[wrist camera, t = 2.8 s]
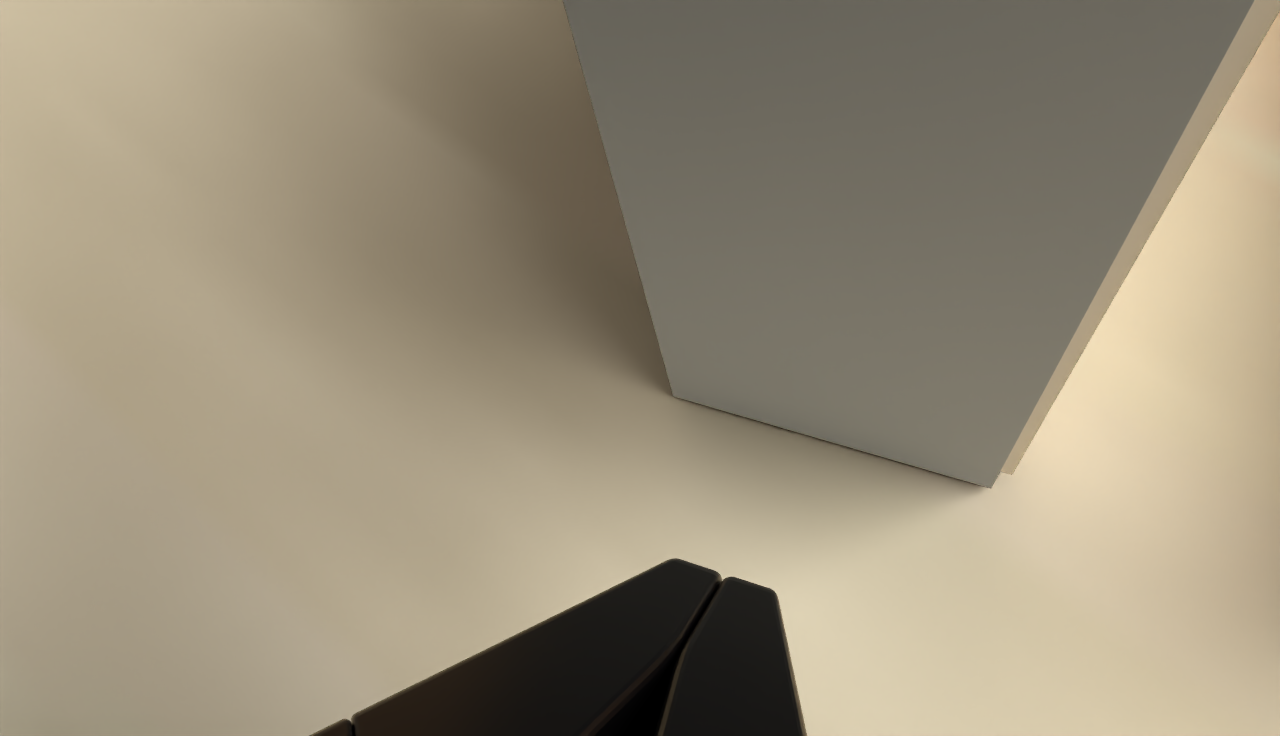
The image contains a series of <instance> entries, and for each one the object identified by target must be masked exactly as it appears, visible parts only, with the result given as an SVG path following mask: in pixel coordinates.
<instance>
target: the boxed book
mask: <svg viewBox="0 0 1280 736" xmlns="http://www.w3.org/2000/svg"><path fill="white" fill-rule="evenodd" d="M563 3H564V6H565V10H566V13H567V17H568V21H569V24H570V28H571V31H572V35H573V39H574V42H575V46H576V49H577V53H578V56H579V60H580V64H581V67H582V71H583V74H584V78H585V82H586V85H587V89H588V92H589V96H590V99H591V103H592V107H593V110H594V114H595V117H596V121H597V125H598V128H599V132H600V135H601V139H602V143H603V146H604V150H605V153H606V157H607V160H608V164H609V168H610V171H611V175H612V178H613V182H614V186H615V189H616V193H617V196H618V200H619V204H620V207H621V211H622V214H623V218H624V221H625V225H626V229H627V232H628V236H629V239H630V243H631V247H632V250H633V254H634V257H635V261H636V264H637V268H638V272H639V275H640V279H641V282H642V286H643V290H644V293H645V297H646V300H647V304H648V308H649V311H650V315H651V318H652V322H653V325H654V329H655V333H656V336H657V340H658V343H659V347H660V351H661V354H662V358H663V361H664V365H665V369H666V372H667V376H668V379H669V383H670V386H671V390H672V394H673V396H674V397H677V398H681V399H684V400H687V401H691V402H694V403H698V404H701V405H705V406H708V407H712V408H715V409H718V410H722V411H725V412H729V413H732V414H736V415H739V416H743V417H746V418H750V419H753V420H756V421H760V422H763V423H767V424H770V425H774V426H777V427H781V428H784V429H787V430H791V431H794V432H798V433H801V434H805V435H808V436H812V437H815V438H818V439H822V440H825V441H829V442H832V443H836V444H839V445H843V446H846V447H850V448H853V449H856V450H860V451H863V452H867V453H870V454H874V455H877V456H881V457H884V458H887V459H891V460H894V461H898V462H901V463H905V464H908V465H912V466H915V467H919V468H922V469H925V470H929V471H932V472H936V473H939V474H943V475H946V476H950V477H953V478H956V479H960V480H963V481H967V482H970V483H974V484H977V485H981V486H984V487H987V488H992V486H993V484H994V482H995V480H996V478H997V477H998V475H999V473H1000V472H1004V473H1007V474H1011V475H1012V474H1013V472H1014V471H1015V469H1016V467H1017V465H1018V464H1019V462H1020V460H1021V458H1022V457H1023V455H1024V453H1025V452H1026V450H1027V448H1028V446H1029V445H1030V443H1031V441H1032V439H1033V438H1034V436H1035V434H1036V432H1037V431H1038V429H1039V427H1040V426H1041V424H1042V422H1043V420H1044V419H1045V417H1046V415H1047V413H1048V412H1049V410H1050V408H1051V406H1052V405H1053V403H1054V401H1055V399H1056V398H1057V396H1058V394H1059V393H1060V391H1061V389H1062V387H1063V386H1064V384H1065V382H1066V380H1067V379H1068V377H1069V375H1070V373H1071V372H1072V370H1073V368H1074V367H1075V365H1076V363H1077V361H1078V360H1079V358H1080V356H1081V354H1082V353H1083V351H1084V349H1085V347H1086V346H1087V344H1088V342H1089V341H1090V339H1091V337H1092V335H1093V334H1094V332H1095V330H1096V328H1097V327H1098V325H1099V323H1100V321H1101V320H1102V318H1103V316H1104V314H1105V313H1106V311H1107V309H1108V308H1109V306H1110V304H1111V302H1112V301H1113V299H1114V297H1115V295H1116V294H1117V292H1118V290H1119V288H1120V287H1121V285H1122V283H1123V282H1124V280H1125V278H1126V276H1127V275H1128V273H1129V271H1130V269H1131V268H1132V266H1133V264H1134V262H1135V261H1136V259H1137V257H1138V255H1139V254H1140V252H1141V250H1142V249H1143V247H1144V245H1145V243H1146V242H1147V240H1148V238H1149V236H1150V235H1151V233H1152V231H1153V229H1154V228H1155V226H1156V224H1157V223H1158V221H1159V219H1160V217H1161V216H1162V214H1163V212H1164V210H1165V209H1166V207H1167V205H1168V203H1169V202H1170V200H1171V198H1172V197H1173V195H1174V193H1175V191H1176V190H1177V188H1178V186H1179V184H1180V183H1181V181H1182V179H1183V177H1184V176H1185V174H1186V172H1187V170H1188V169H1189V167H1190V165H1191V164H1192V162H1193V160H1194V158H1195V157H1196V155H1197V153H1198V151H1199V150H1200V148H1201V146H1202V144H1203V143H1204V141H1205V139H1206V138H1207V136H1208V134H1209V132H1210V131H1211V129H1212V127H1213V125H1214V124H1215V122H1216V120H1217V118H1218V117H1219V115H1220V113H1221V111H1222V110H1223V108H1224V106H1225V105H1226V103H1227V101H1228V99H1229V98H1230V96H1231V94H1232V92H1233V91H1234V89H1235V87H1236V85H1237V84H1238V82H1239V80H1240V79H1241V77H1242V75H1243V73H1244V72H1245V70H1246V68H1247V66H1248V65H1249V63H1250V61H1251V59H1252V58H1253V56H1254V54H1255V52H1256V51H1257V49H1258V47H1259V46H1260V44H1261V42H1262V40H1263V39H1264V37H1265V35H1266V33H1267V32H1268V30H1269V28H1270V26H1271V25H1272V23H1273V21H1274V20H1275V18H1276V16H1277V14H1278V13H1279V11H1280V0H563Z"/></svg>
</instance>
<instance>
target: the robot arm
mask: <svg viewBox="0 0 1280 736" xmlns="http://www.w3.org/2000/svg"><path fill="white" fill-rule="evenodd" d="M310 736H807V733H806V729H805V724H804V719H803V714H802V710H801V705H800V700H799V695H798V691H797V686H796V681H795V676H794V671H793V667H792V662H791V657H790V652H789V648H788V643H787V638H786V633H785V629H784V624H783V619H782V614H781V610H780V605H779V600H778V597H777V595H776V593H775V592H774V591H773V590H772V589H770V588H767V587H763V586H760V585H757V584H754V583H751V582H748V581H745V580H742V579H739V578H735V577H728V578H725V579H724V580H723V581H722V578H721V575H720V574H719V573H718V572H716V571H714V570H711V569H708V568H705V567H702V566H699V565H696V564H693V563H690V562H687V561H684V560H680V559H670V560H667V561H665V562H663V563H661V564H659V565H657V566H655V567H653V568H651V569H649V570H647V571H645V572H643V573H641V574H639V575H637V576H635V577H632V578H630V579H628V580H626V581H624V582H622V583H620V584H618V585H616V586H614V587H612V588H610V589H608V590H606V591H604V592H602V593H600V594H598V595H596V596H594V597H592V598H590V599H588V600H586V601H584V602H582V603H579V604H577V605H575V606H573V607H571V608H569V609H567V610H565V611H563V612H561V613H559V614H557V615H555V616H553V617H551V618H549V619H547V620H545V621H543V622H541V623H539V624H537V625H535V626H533V627H531V628H529V629H527V630H524V631H522V632H520V633H518V634H516V635H514V636H512V637H510V638H508V639H506V640H504V641H502V642H500V643H498V644H496V645H494V646H492V647H490V648H488V649H486V650H484V651H482V652H480V653H478V654H476V655H474V656H472V657H469V658H467V659H465V660H463V661H461V662H459V663H457V664H455V665H453V666H451V667H449V668H447V669H445V670H443V671H441V672H439V673H437V674H435V675H433V676H431V677H429V678H427V679H425V680H423V681H421V682H419V683H416V684H414V685H412V686H410V687H408V688H406V689H404V690H402V691H400V692H398V693H396V694H394V695H392V696H390V697H388V698H386V699H384V700H382V701H380V702H378V703H376V704H374V705H372V706H370V707H368V708H366V709H364V710H361V711H359V712H357V713H355V714H354V715H353V716H352V719H351V722H350V721H349V720H348V719H342V720H340V721H338V722H336V723H334V724H332V725H330V726H328V727H326V728H324V729H322V730H320V731H318V732H316V733H314V734H312V735H310Z"/></svg>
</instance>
